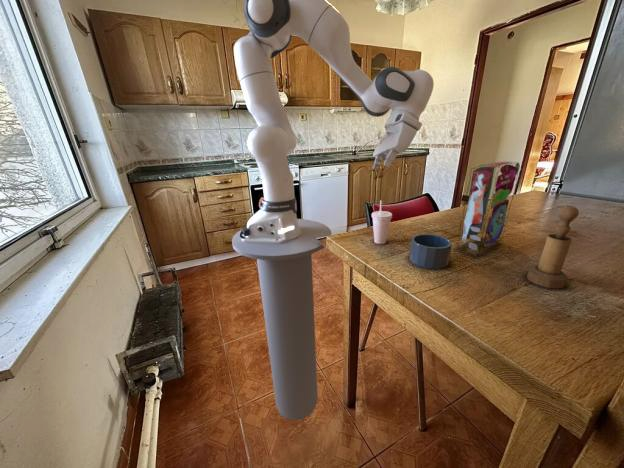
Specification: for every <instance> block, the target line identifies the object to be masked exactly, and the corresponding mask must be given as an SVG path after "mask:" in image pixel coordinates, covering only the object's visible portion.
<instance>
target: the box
mask: <svg viewBox="0 0 624 468" xmlns="http://www.w3.org/2000/svg"><path fill="white" fill-rule="evenodd" d="M496 168H497V169H498V171H496V170H497V169H496ZM520 168H521V164H520V162H518V161H514V164H513V162H511V161H497V162H494V163H493V162H491V163H489V164H487V163H485V164H483V165H482V164H481V165H478V166H475V167H473V168H472V167H471V169H470V171H472V170H473V171H472V173H470V175H469V178H471V180H469V182H468V185H467V189H466V194H465V200H464V203H466V202H467V206H466V204H464V205H463V207H464V208H463V209H465V207H466V212H465V210H462V211H463V212H462V213H465V214H462V216H461V218H463V219H461V221H460V227H459V230H458V233H461V234H458V235H457V238H458V240H457V242H456V244H457V246H456V247H457V249H458V250H461V253H462V254H465V255H468V256H472V257H476V258H477V257H480V256H481V254H482V255H484V254H485V253H488V252H490V251H491V250H493V249H494V248H497V244H498V245H500V242H497V241H499V240H502V239H503V237H504V234H505V232H506V231H505V230H506V228H507V227H506V226H507V222H508V218H509V216H507V215H509V213H510V212H509V211H510V208H511V205H512V202H513V199H514V195H515V191H516V187H517V181H518V179H517V178H518V176H519V171H520ZM495 172H496V173H495ZM499 172H500V173H501V174H499ZM495 176H496V177H495ZM494 177H495V179H494ZM493 181H494V183H493ZM515 181H516V182H515ZM492 186H495V187H493V188H492ZM491 191H492V192H491ZM491 193H492V194H491ZM468 194H469V195H468ZM511 194H512V197H511V201H510V200H509V199H508V197H509V196H510V195H511ZM490 196H491V197H490ZM467 199H468V201H467ZM509 202H510V203H509ZM488 207H489V208H488ZM490 210H491V214H489V213H487V212H489V211H490ZM507 212H508V213H507ZM488 215H489V217H488ZM487 217H488V218H487ZM487 220H488V221H487ZM485 221H487V222H485ZM462 224H463V225H462ZM461 228H462V229H461ZM485 228H486V229H485ZM461 230H462V231H461ZM484 232H485V234H484ZM479 234H480V235H479ZM478 235H479V236H478ZM501 235H502V236H501ZM500 237H501V238H500ZM460 238H461V239H460ZM460 240H461V241H462V243H464V244H463V245H462V246H460V243H459V241H460ZM467 240H470V241H472V240H474V241H475V242H468V244H467V243H466V242H467ZM483 241H484V242H483ZM476 242H480V243H479V245H477V244H476ZM482 242H483V247H488V248H487V249H485V250H484V252H483V251H481V250H479V249H481V246H482ZM465 244H467V245H465ZM467 246H468V248H469V249H470V250H472V251H478V252H477V255H476V256H475V255H474V254H472V253H470V252H469V251H467V252H465V250H464V249H463V248H466V247H467ZM478 246H479V247H478ZM462 247H463V248H462ZM479 253H480V255H479Z"/></svg>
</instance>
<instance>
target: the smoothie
mask: <svg viewBox="0 0 624 468" xmlns="http://www.w3.org/2000/svg"><path fill="white" fill-rule="evenodd" d="M382 208H383V200H381V199H379V210H376V211H373V212H372V213H371V218H372V228H373V231H372V232H373V241H374V243H375V244H377V245H384V244H386V243H387V239H388V235H389V229H390V225H391V220H392V219H393V213H392V212H390V211H387V210H386V211H385V210H383V209H382Z"/></svg>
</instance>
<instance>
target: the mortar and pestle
mask: <svg viewBox="0 0 624 468" xmlns="http://www.w3.org/2000/svg"><path fill="white" fill-rule="evenodd" d="M579 213H580V211H579V209H578V208H577V207H576V206H571V205H565V206H563V207H561V208H560V209H559V210H558V212H557V216H558V219H559V220H560V222H559V224H557V225H556V226H555V233H550V234H547V236H546V240H545V244H544V246H543V250H542V253H541V256H540V258H539V263H538V265H537V264H536V265H534V266H532V267H530V268H529V269H528V272H527V276H526V278H527V280H528V281H529V282H531V283H533V284H534V285H536V286H540V287H543V288H546V289H547V288H548V289H554V290H556V289H557V290H558V289H562V288H564V287H565V285H566V281H567V279H568V276H567V275H566V274H565V273H564V272H563V271H562V269H563V266H564V264H565V260H566V257H567V255H568V252H569V250H570V247H571V244H572V241H573V238H571V237H570V236H567V235H568V234H569V232H570V231H571V226H570V224H571V223H572V221H574V220H575V219H577V218H578V216H579Z"/></svg>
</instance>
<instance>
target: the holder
mask: <svg viewBox="0 0 624 468" xmlns="http://www.w3.org/2000/svg"><path fill="white" fill-rule="evenodd" d="M452 247H453V244H452V241H451V240H450V239H448V238H447V237H445V236H442V235H437V234H432V233H431V234H430V233H420V234H415V235H414V236H412V237H411V243H410V250H409V261H410V262H411V263H412V264H413V265H415V266H417V267H419V268H423V269H428V270H440V269H445V268H446V267H448V266H449V262H450V258H451V252H452Z"/></svg>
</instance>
